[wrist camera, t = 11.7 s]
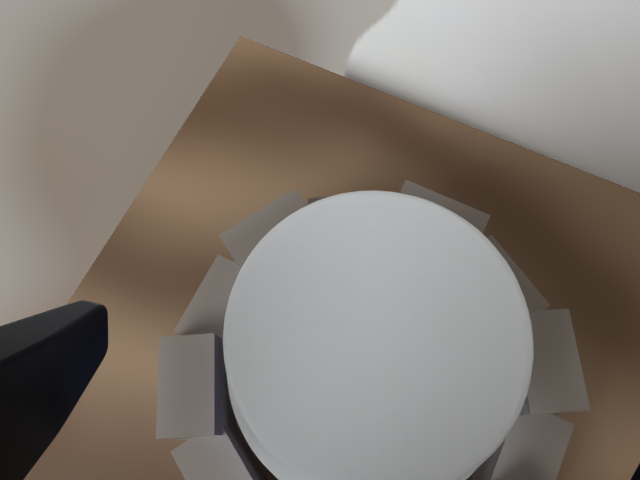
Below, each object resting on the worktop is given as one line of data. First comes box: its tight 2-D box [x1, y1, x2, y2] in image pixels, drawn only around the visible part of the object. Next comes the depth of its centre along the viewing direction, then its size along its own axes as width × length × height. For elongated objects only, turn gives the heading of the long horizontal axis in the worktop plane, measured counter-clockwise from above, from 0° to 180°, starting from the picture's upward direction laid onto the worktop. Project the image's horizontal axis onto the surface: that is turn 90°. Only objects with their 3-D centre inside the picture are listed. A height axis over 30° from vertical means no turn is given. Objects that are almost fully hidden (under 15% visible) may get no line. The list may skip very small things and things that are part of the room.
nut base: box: [24, 37, 640, 480], centre depth 17 cm, size 20×20×4 cm
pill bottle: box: [223, 190, 534, 480], centre depth 13 cm, size 6×6×10 cm
